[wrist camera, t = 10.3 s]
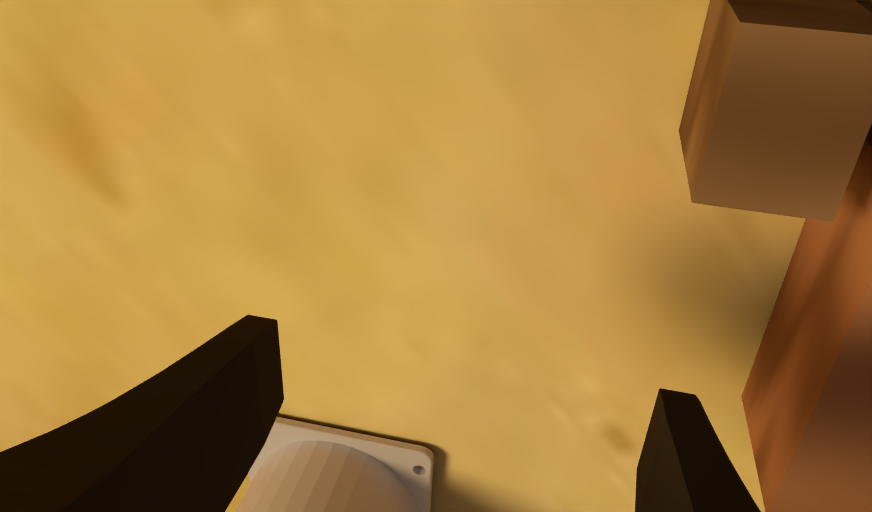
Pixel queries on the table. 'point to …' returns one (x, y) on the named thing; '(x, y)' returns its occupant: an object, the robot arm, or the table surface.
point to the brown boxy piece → (819, 366)
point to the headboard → (778, 105)
